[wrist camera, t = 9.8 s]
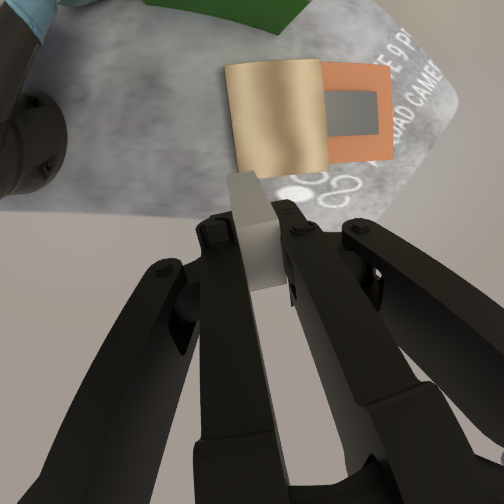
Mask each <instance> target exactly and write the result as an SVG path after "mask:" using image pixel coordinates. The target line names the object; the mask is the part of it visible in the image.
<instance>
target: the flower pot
mask: <svg viewBox="0 0 504 504" xmlns="http://www.w3.org/2000/svg"><path fill="white" fill-rule="evenodd" d="M56 1H57V4H59V5H65V6H70V7H82V6H85V5H88V4H91V3H93V2H95V1H97V0H56Z"/></svg>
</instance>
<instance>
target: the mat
mask: <svg viewBox="0 0 504 504" xmlns="http://www.w3.org/2000/svg"><path fill="white" fill-rule="evenodd" d="M321 69H322V78H323V88H324V91H376V92H377V103H378V122H379V135H352V136H334V137H327V139H328V157H329V164H330V163H342V162H356V161H373V160H393V109H392V91H391V77H390V66H383V65H372V64H358V63H331V62H321Z"/></svg>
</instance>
